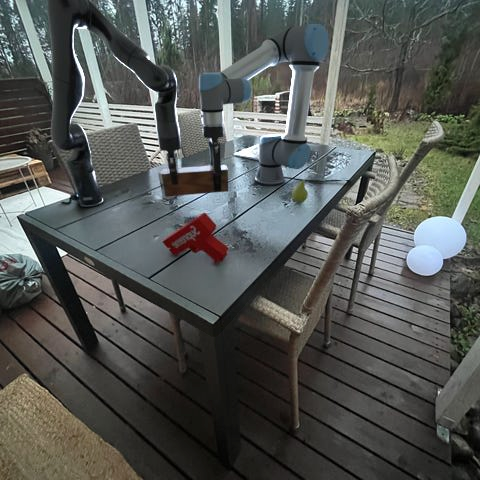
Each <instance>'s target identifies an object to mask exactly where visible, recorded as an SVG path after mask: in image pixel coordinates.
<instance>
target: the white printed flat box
mask: <svg viewBox="0 0 480 480" xmlns="http://www.w3.org/2000/svg"><path fill="white" fill-rule="evenodd" d="M259 144H260V143H258V144H256V145H253V146H250V147H248V148H242V150H240V151H238V152H234V153H233V156H236V157H241V158H244V159H245V158H246V159H249V160H250V159H251V160H255V161H259Z"/></svg>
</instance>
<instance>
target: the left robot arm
mask: <svg viewBox="0 0 480 480" xmlns="http://www.w3.org/2000/svg"><path fill="white" fill-rule="evenodd" d="M46 12H47V19H48V28H49V36H50V45H51V46H50V47H51V48H50V50H51V51H50V52H51V86H52V111H51V112H52V113H51V121H50V137H51V141H52V143H53V145H54V146H55V147H56V149H58V150H59V151H61V152H62V151H63V152H68V151H71V153H70V155H68V157H67V158H66V159H65V165H66V167H67V171H68V173H69V176H70V178H71V181H72V182H71V186H72V189H73V193H70V195H69V199H68V200H69V201H61V202H60V203H61V204H62V205H63V204H64V205H70V204H71V203H72V201H73V202H76V201H77V202H78V205H80V206H81V207H83V208H93V207H96V206H99V205H102V204H103V203H104V198H103V195H102V193H101V188H100V186H99V183H98V179H97V176H96V173H95V169H94V166H93V163H92V154H91V153H92V152H91V149H90V145H89V141H88V137H87V134H86V131H85V130H84V129H83V127H82V126H81V125H80V124H79V123H76V122H72V118H73V116H74V114H75V113H76V111H77V109H78V107H79V106H80V104H81V102H82V100H83V98H84V93H85V75H84V71H83V68H82V66H81V64H80V61H79V60H78V58H77V55H76V53H75V47H74V33H75V29H81V30H83V29H84V30H86V31H89V32H90V33H92V34H94V35H95V36H97V37H98V38H99V39H100V40H101V41H103V43H104V44H105V45H106V47H107V48H108V50H109V51H110V53H111V54H112V55H113V57H114V58H116V60H117V61H119V63H120V64H123V65H124V66H125V67H126V68H128V69H129V70H130V71H132V72H133V73H134V74H135V75H136V77H137V78H138V79H139V81H141V83H142V84H143V85H144V86H145V87H146V88H147V89H149V90H150V91H152V92H154V93H157V100H156V101H154V104H153V110H154V117H155V122H156V123H155V124H156V126H155V127H156V134H157V140H158V146H159V149H160V151H163V152H165V151H166V152H167V153H165V159H166V162H167V169H169V171H170V175H171V179H172V184H173V185H178V177H177V174H178V172H177V168H179V164H178V163H179V158H178V157H179V156H178V153H177V152H176V151H179V150H180V149H182V140H181V132H180V131H181V130H180V125H179V121H178V114H177V107H176V106H177V105H176V104H177V98H178V97H177V93H178V82H177V77H176V74H175V72H174V70H173V69H172V68H171V67H169V66H167V65H157V64H155V63H154V62H152V60H150V56H149V54H148V52H147V51H145V50H144V49H143V48H142V47H141V46H140V45H138V44H137V43H136V42H135V41H134V40H132V39H131V38H129V37H128V36H127V35H126V34H125V33H124V32H122V31H121V30H120V29H119V28H118V27H117V26H115V24H114V23H112V22H111V21H110V20H109V18H108V17H106V15H105V14H104V13H103V12H102V11H100V9H99V8H98V7H97V6H96V5H95V4H94V3H93V2H92V0H46ZM172 168H175V171H171V169H172Z"/></svg>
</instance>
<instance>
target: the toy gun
mask: <svg viewBox="0 0 480 480" xmlns="http://www.w3.org/2000/svg"><path fill="white" fill-rule="evenodd" d="M216 229H217V224H216V223H215V222H214V221H213V219H212V218H211V217H210V216H209V215H208V214H207V213H206V212H203V213H201V214H200V215H198V216H197V217H195V218H194V219H192V220H191V221H189V222H187V223H186V224H184V225H183V226H181V227H180V228H178V229H176V230H175V231H174V232H172V233H170V234H169V235H168V236H167V237H166V238H165V239H164V240H162V244H163V245H164V247H166V248H167V249H168V251H169V252H170V253H171V254H172V255H174V256H177V255H178V254H180V253H182V252H184V251H186V250H188V249H189V250H190V252H192V253H193V254H197V253H199V252H200V251H202V252H204V253H205V254H206V255H207V256H209V257H210V258H211V259H212V260H213V262H214V264H218V263H219V262H223V261H224V260H225V258H226V257H227V255H228V251H229V249H230V248H229V247H228V246H227V244H225V243H223V242H222V241H220V239H218V238H217V237H216V236H214V235H213V233H214V232H215V231H216Z"/></svg>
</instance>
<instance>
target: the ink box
mask: <svg viewBox="0 0 480 480" xmlns="http://www.w3.org/2000/svg"><path fill="white" fill-rule="evenodd" d="M157 175H158V180H159V186H160V191H161V197H162V198H164V199H165V200H171V199H174V198H176V197H180V195H178V196H166V197H165V192H164V186H163V180H162V171H160V172H158V173H157Z"/></svg>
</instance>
